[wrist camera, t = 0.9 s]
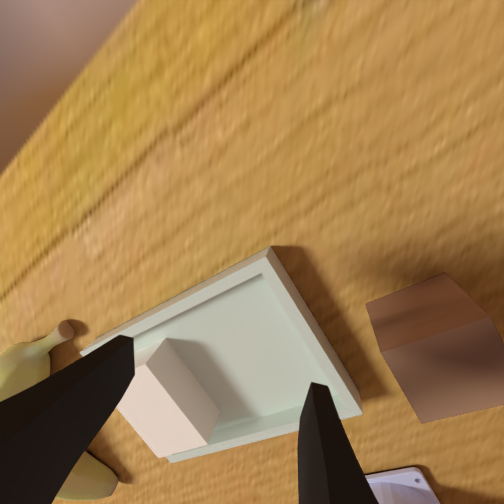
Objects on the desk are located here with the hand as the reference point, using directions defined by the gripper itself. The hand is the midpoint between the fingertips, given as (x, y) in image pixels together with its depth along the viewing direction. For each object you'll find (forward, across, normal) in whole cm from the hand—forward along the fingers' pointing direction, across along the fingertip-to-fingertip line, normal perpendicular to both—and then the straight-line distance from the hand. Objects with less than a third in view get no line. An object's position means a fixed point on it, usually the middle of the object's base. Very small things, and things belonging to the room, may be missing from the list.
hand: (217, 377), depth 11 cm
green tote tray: (+9, +2, +9) cm, 13 cm away
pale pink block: (+8, +6, +12) cm, 16 cm away
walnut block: (+9, -11, +1) cm, 14 cm away
